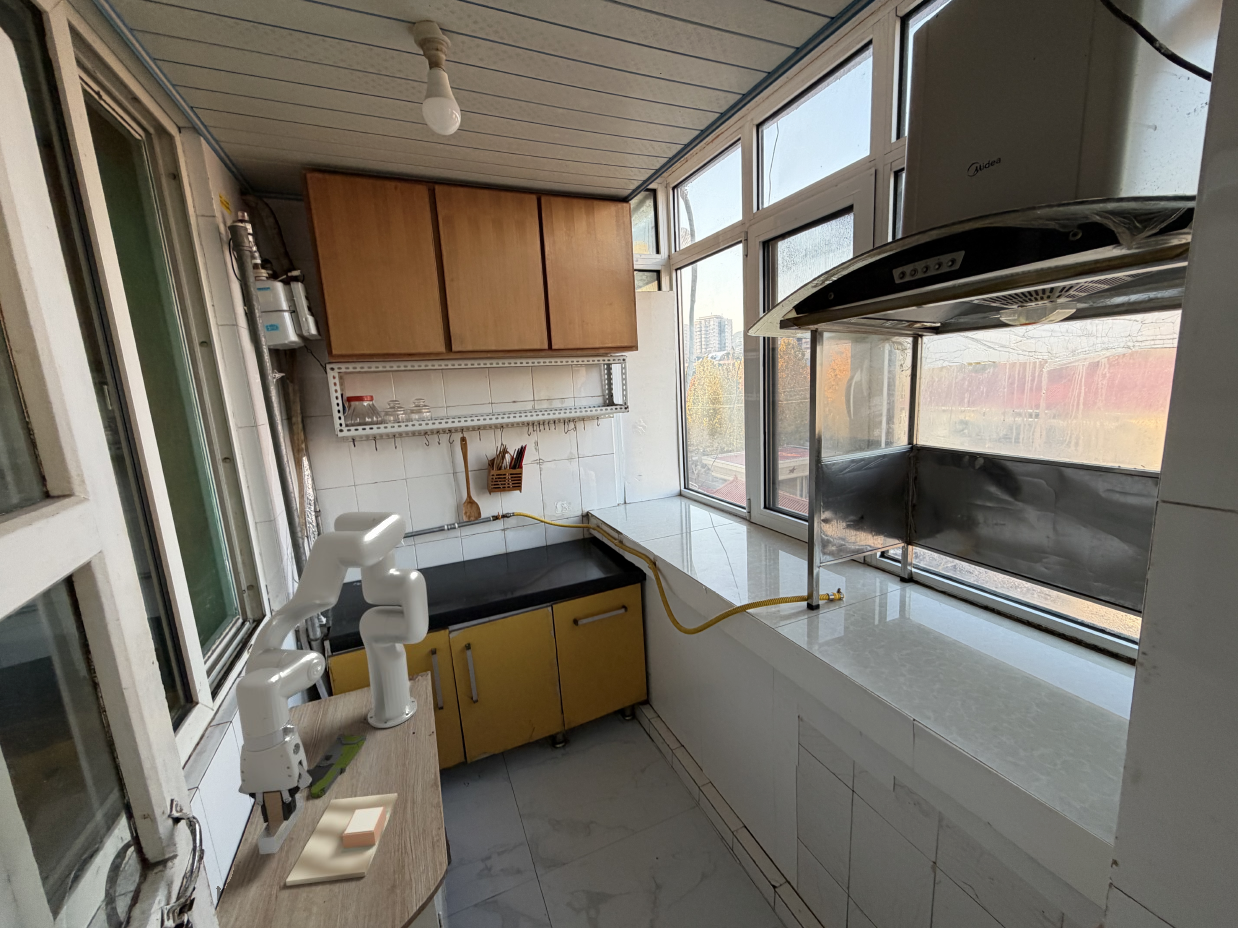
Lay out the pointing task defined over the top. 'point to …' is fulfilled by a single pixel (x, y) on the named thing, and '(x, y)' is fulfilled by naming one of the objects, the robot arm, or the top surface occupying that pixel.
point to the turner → (277, 822)
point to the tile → (364, 827)
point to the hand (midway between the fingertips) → (280, 814)
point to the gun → (334, 763)
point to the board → (338, 843)
